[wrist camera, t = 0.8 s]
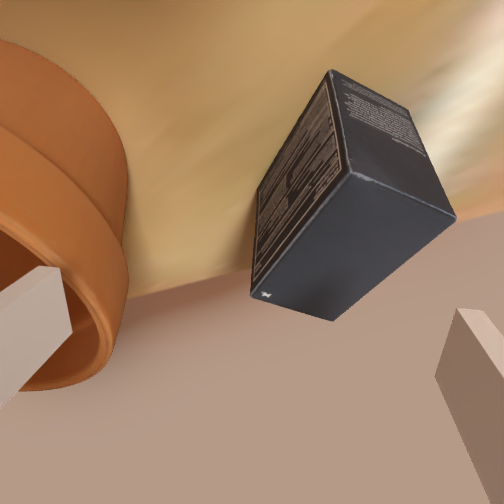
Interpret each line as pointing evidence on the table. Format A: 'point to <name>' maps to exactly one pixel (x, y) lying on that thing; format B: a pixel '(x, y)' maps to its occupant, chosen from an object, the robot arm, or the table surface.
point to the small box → (344, 202)
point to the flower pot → (62, 206)
